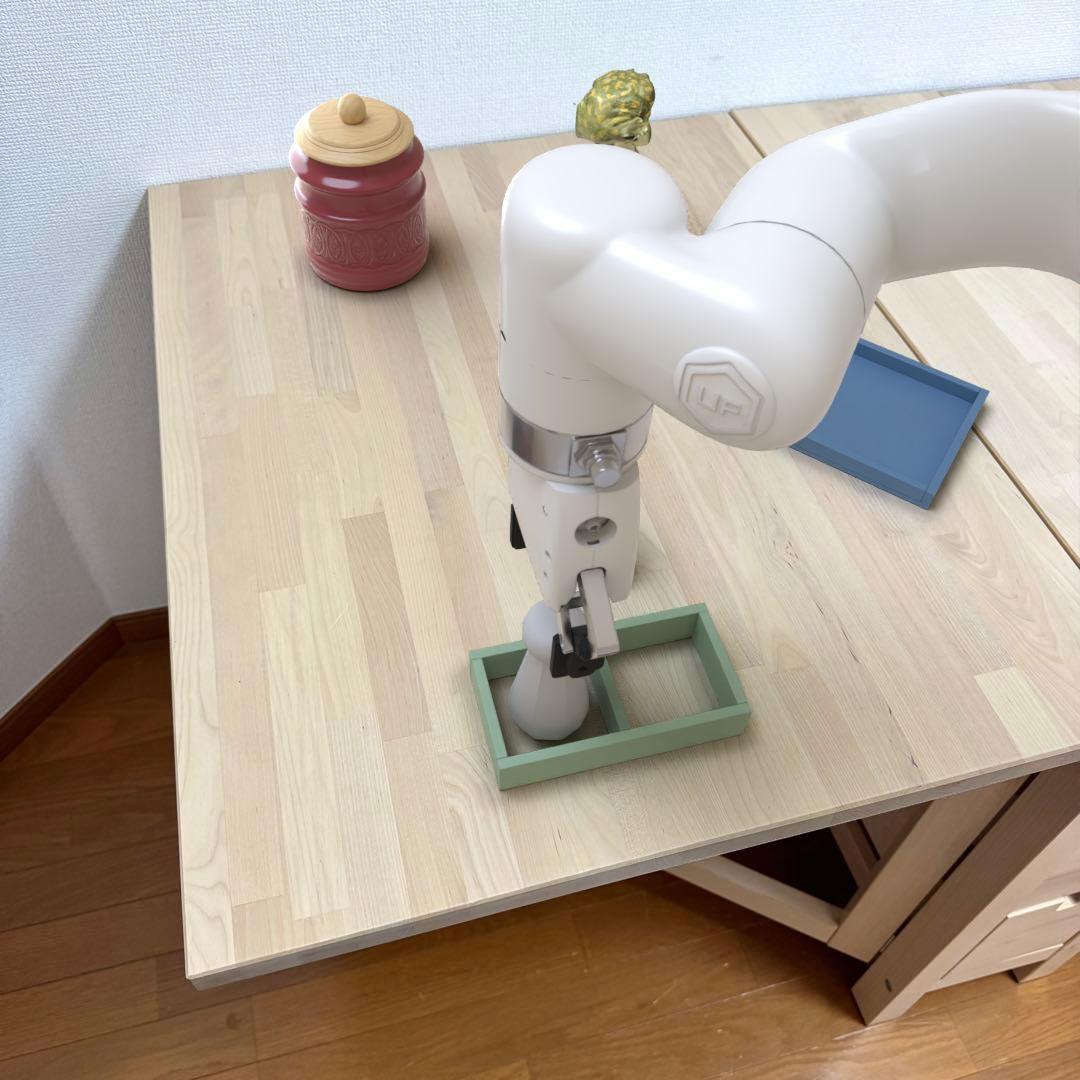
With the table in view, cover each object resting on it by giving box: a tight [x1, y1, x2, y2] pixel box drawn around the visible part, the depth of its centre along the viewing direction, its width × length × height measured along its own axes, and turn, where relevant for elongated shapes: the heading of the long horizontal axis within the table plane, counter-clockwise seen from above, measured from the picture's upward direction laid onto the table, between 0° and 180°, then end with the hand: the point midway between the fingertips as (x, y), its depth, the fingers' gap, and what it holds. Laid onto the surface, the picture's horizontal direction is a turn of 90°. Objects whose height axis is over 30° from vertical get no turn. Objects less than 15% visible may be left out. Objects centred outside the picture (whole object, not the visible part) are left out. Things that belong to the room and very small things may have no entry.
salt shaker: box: [508, 599, 590, 741], centre depth 68 cm, size 6×6×13 cm
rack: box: [468, 601, 753, 791], centre depth 73 cm, size 18×10×4 cm, turn 105°
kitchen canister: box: [288, 92, 430, 292], centre depth 99 cm, size 13×13×18 cm
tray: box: [788, 337, 991, 511], centre depth 94 cm, size 20×16×2 cm
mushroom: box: [572, 68, 657, 154], centre depth 102 cm, size 12×13×18 cm
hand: (554, 603), depth 62 cm, fingers open, 9 cm apart
